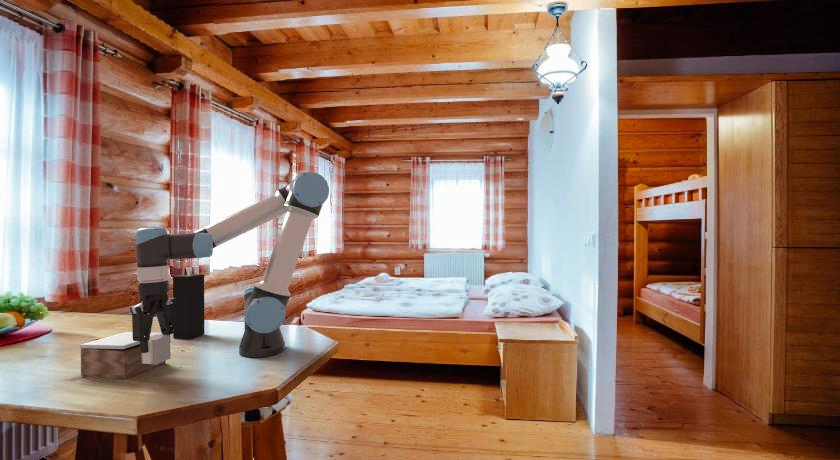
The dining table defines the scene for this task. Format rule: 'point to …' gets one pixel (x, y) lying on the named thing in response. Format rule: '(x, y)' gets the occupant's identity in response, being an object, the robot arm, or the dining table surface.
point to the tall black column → (189, 305)
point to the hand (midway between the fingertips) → (156, 359)
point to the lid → (115, 341)
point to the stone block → (160, 348)
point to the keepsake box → (113, 362)
